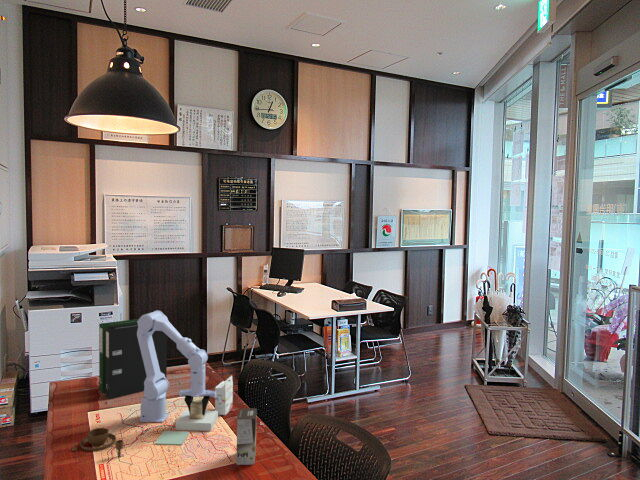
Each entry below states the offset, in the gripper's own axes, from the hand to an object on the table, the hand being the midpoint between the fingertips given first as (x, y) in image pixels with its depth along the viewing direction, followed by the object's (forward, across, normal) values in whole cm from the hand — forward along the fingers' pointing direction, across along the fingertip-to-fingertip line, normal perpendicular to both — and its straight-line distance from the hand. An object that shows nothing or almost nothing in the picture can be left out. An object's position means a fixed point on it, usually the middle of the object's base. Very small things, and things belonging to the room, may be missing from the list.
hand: (197, 413), depth 192 cm
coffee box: (+4, +24, -26) cm, 36 cm away
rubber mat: (+4, -6, -13) cm, 15 cm away
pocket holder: (+4, 0, 0) cm, 4 cm away
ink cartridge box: (+4, +8, +13) cm, 16 cm away
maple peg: (+4, 0, 0) cm, 4 cm away
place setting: (+5, -30, -22) cm, 37 cm away
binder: (+4, -40, +36) cm, 54 cm away
